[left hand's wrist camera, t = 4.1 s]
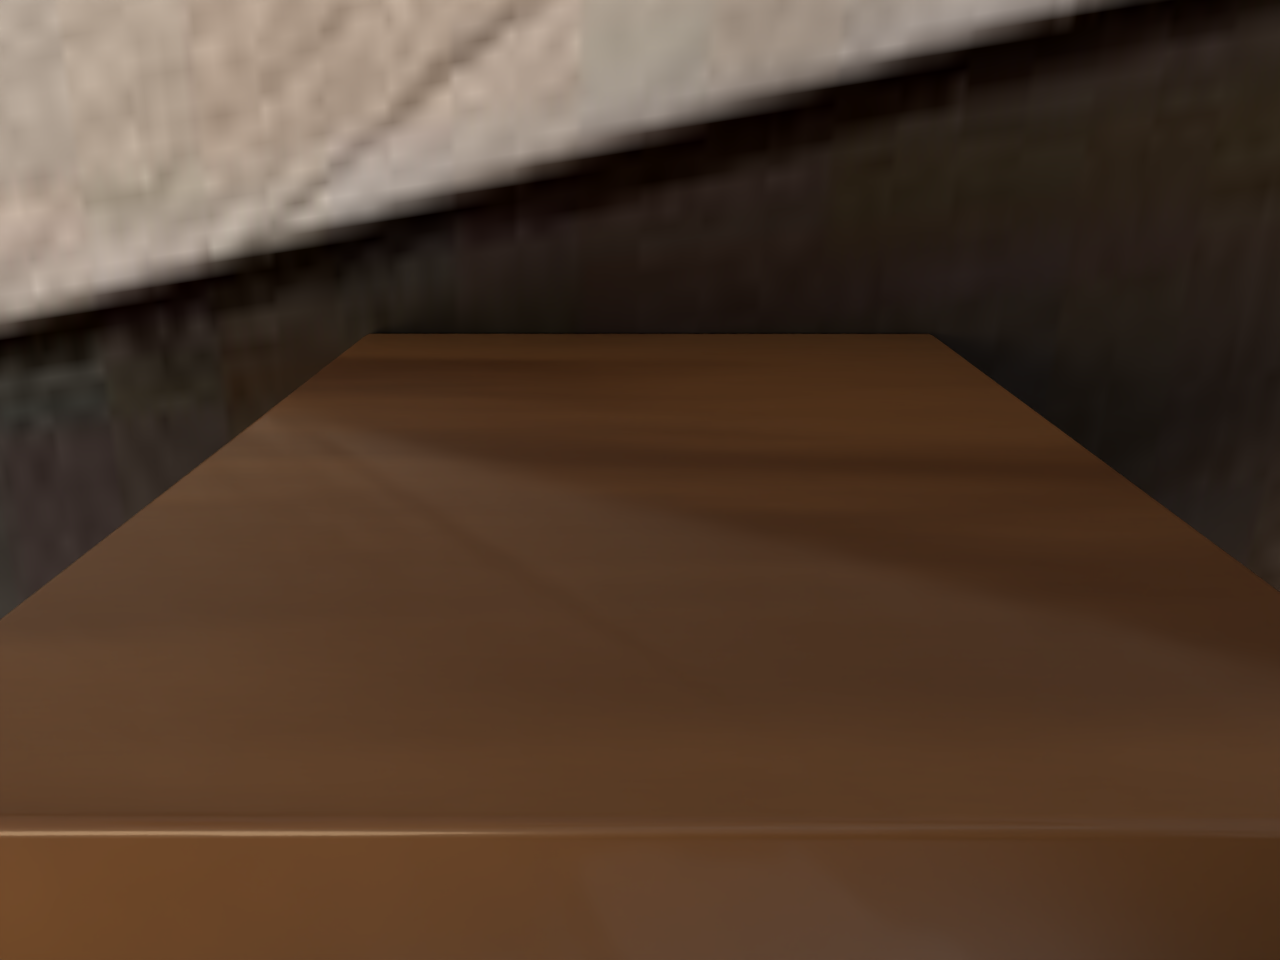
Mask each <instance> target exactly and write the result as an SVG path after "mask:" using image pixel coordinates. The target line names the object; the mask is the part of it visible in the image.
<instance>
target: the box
mask: <svg viewBox="0 0 1280 960" xmlns="http://www.w3.org/2000/svg"><path fill="white" fill-rule="evenodd" d="M0 960H1280V592H1279V591H1278V590H1276V589H1275V588H1274V587H1272V586H1271V585H1270V584H1268V583H1267V582H1265V581H1264V580H1263V579H1261V578H1260V577H1259V576H1257V575H1256V574H1255V573H1253V572H1252V571H1251V570H1249V569H1248V568H1247V567H1245V566H1244V565H1242V564H1241V563H1240V562H1238V561H1237V560H1236V559H1234V558H1233V557H1232V556H1230V555H1229V554H1228V553H1226V552H1225V551H1224V550H1222V549H1221V548H1220V547H1218V546H1217V545H1215V544H1214V543H1213V542H1211V541H1210V540H1209V539H1207V538H1206V537H1205V536H1203V535H1202V534H1201V533H1199V532H1198V531H1197V530H1195V529H1194V528H1192V527H1191V526H1190V525H1188V524H1187V523H1186V522H1184V521H1183V520H1182V519H1180V518H1179V517H1178V516H1176V515H1175V514H1174V513H1172V512H1171V511H1169V510H1168V509H1167V508H1165V507H1164V506H1163V505H1161V504H1160V503H1159V502H1157V501H1156V500H1155V499H1153V498H1152V497H1151V496H1149V495H1148V494H1147V493H1145V492H1144V491H1142V490H1141V489H1140V488H1138V487H1137V486H1136V485H1134V484H1133V483H1132V482H1130V481H1129V480H1128V479H1126V478H1125V477H1124V476H1122V475H1121V474H1119V473H1118V472H1117V471H1115V470H1114V469H1113V468H1111V467H1110V466H1109V465H1107V464H1106V463H1105V462H1103V461H1102V460H1101V459H1099V458H1098V457H1096V456H1095V455H1094V454H1092V453H1091V452H1090V451H1088V450H1087V449H1086V448H1084V447H1083V446H1082V445H1080V444H1079V443H1078V442H1076V441H1075V440H1074V439H1072V438H1071V437H1069V436H1068V435H1067V434H1065V433H1064V432H1063V431H1061V430H1060V429H1059V428H1057V427H1056V426H1055V425H1053V424H1052V423H1051V422H1049V421H1048V420H1046V419H1045V418H1044V417H1042V416H1041V415H1040V414H1038V413H1037V412H1036V411H1034V410H1033V409H1032V408H1030V407H1029V406H1028V405H1026V404H1025V403H1023V402H1022V401H1021V400H1019V399H1018V398H1017V397H1015V396H1014V395H1013V394H1011V393H1010V392H1009V391H1007V390H1006V389H1005V388H1003V387H1002V386H1001V385H999V384H998V383H996V382H995V381H994V380H992V379H991V378H990V377H988V376H987V375H986V374H984V373H983V372H982V371H980V370H979V369H978V368H976V367H975V366H973V365H972V364H971V363H969V362H968V361H967V360H965V359H964V358H963V357H961V356H960V355H959V354H957V353H956V352H955V351H953V350H952V349H950V348H949V347H948V346H946V345H945V344H944V343H942V342H941V341H940V340H938V339H937V338H936V337H934V336H933V335H930V334H368V335H366V336H364V337H363V338H362V339H360V340H359V341H358V342H357V343H355V344H354V345H353V346H351V347H350V348H349V349H348V350H346V351H345V352H344V353H342V354H341V355H340V356H339V357H337V358H336V359H335V360H333V361H332V362H331V363H330V364H328V365H327V366H326V367H324V368H323V369H322V370H321V371H319V372H318V373H317V374H315V375H314V376H313V377H311V378H310V379H309V380H308V381H306V382H305V383H304V384H302V385H301V386H300V387H299V388H297V389H296V390H295V391H293V392H292V393H291V394H290V395H288V396H287V397H286V398H284V399H283V400H282V401H281V402H279V403H278V404H277V405H275V406H274V407H273V408H272V409H270V410H269V411H268V412H266V413H265V414H264V415H263V416H261V417H260V418H259V419H257V420H256V421H255V422H254V423H252V424H251V425H250V426H248V427H247V428H246V429H245V430H243V431H242V432H241V433H239V434H238V435H237V436H236V437H234V438H233V439H232V440H230V441H229V442H228V443H227V444H225V445H224V446H223V447H221V448H220V449H219V450H218V451H216V452H215V453H214V454H212V455H211V456H210V457H209V458H207V459H206V460H205V461H203V462H202V463H201V464H200V465H198V466H197V467H196V468H194V469H193V470H192V471H191V472H189V473H188V474H187V475H185V476H184V477H183V478H182V479H180V480H179V481H178V482H176V483H175V484H174V485H173V486H171V487H170V488H169V489H167V490H166V491H165V492H164V493H162V494H161V495H160V496H158V497H157V498H156V499H155V500H153V501H152V502H151V503H149V504H148V505H147V506H146V507H144V508H143V509H142V510H140V511H139V512H138V513H137V514H135V515H134V516H133V517H131V518H130V519H129V520H128V521H126V522H125V523H124V524H122V525H121V526H120V527H119V528H117V529H116V530H115V531H113V532H112V533H111V534H110V535H108V536H107V537H106V538H104V539H103V540H102V541H101V542H99V543H98V544H97V545H95V546H94V547H93V548H92V549H90V550H89V551H88V552H86V553H85V554H84V555H83V556H81V557H80V558H79V559H77V560H76V561H75V562H74V563H72V564H71V565H70V566H68V567H67V568H66V569H65V570H63V571H62V572H61V573H59V574H58V575H57V576H56V577H54V578H53V579H52V580H50V581H49V582H48V583H47V584H45V585H44V586H43V587H41V588H40V589H39V590H37V591H36V592H35V593H34V594H32V595H31V596H30V597H28V598H27V599H26V600H25V601H23V602H22V603H21V604H19V605H18V606H17V607H16V608H14V609H13V610H12V611H10V612H9V613H8V614H7V615H5V616H4V617H3V618H1V619H0Z"/></svg>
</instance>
